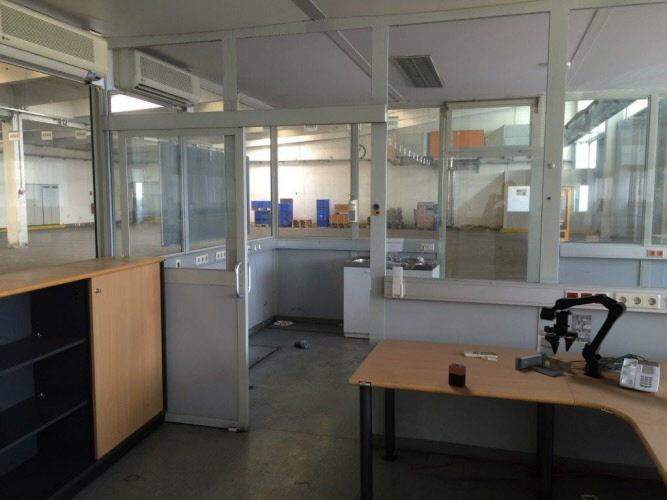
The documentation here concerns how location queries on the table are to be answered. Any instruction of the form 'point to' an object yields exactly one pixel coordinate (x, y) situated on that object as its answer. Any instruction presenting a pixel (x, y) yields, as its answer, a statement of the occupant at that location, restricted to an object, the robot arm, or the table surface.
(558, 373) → the keeper cradle
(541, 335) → the ink box
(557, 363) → the bar
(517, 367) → the door frame
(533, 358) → the door
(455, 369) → the battery
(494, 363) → the table surface
